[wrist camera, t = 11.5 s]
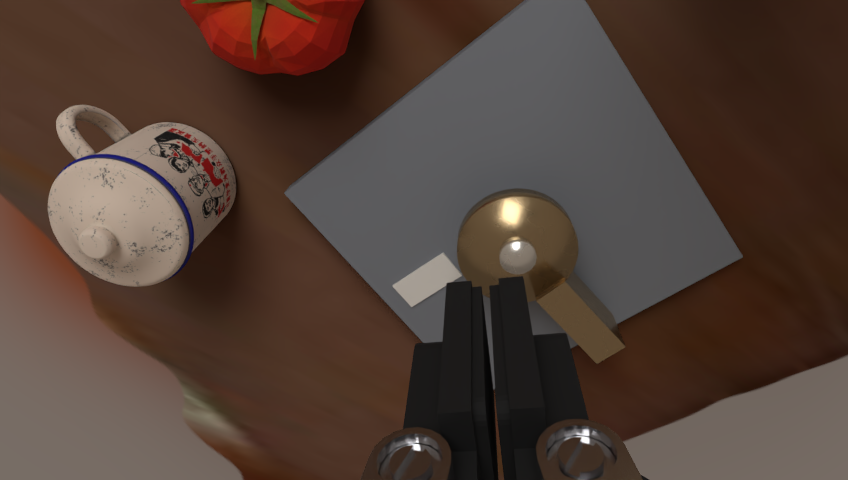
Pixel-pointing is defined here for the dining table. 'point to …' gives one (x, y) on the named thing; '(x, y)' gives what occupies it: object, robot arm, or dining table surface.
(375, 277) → the base
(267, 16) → the tomato
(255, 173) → the dining table surface
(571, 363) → the robot arm
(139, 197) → the teacup with lid
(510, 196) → the lock handle
